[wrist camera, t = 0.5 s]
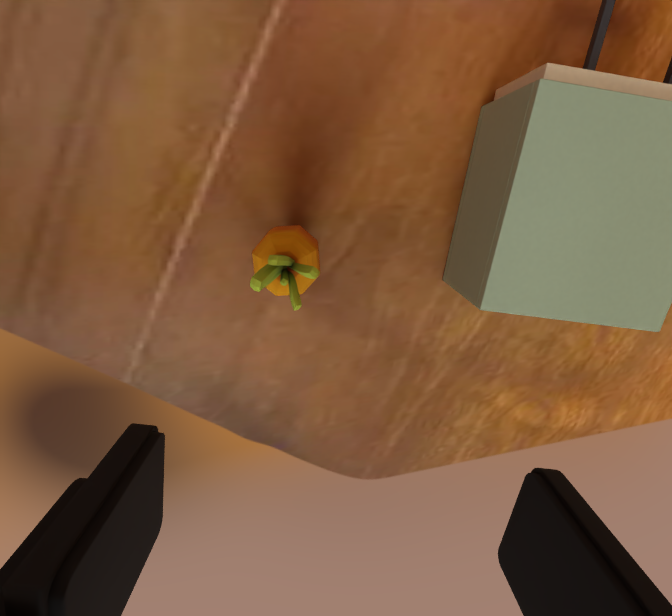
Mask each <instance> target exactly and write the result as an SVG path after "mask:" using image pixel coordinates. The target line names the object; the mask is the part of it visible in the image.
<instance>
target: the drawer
mask: <svg viewBox="0 0 672 616" xmlns="http://www.w3.org/2000/svg"><path fill="white" fill-rule="evenodd" d="M615 1H616V0H602V3H601V7H600V10H599V14H598V17H597V21H596V24H595V28H594V31H593V35H592V38H591V42H590V45H589V48H588V52H587V55H586V59H585V62H584V66H583V69H581V68H576V67H570V66H564V65H559V64H553V63H546V64H544V65H542V66H540V67H538V68H536V69H535V70H533V71H531V72H529V73H527V74H525V75H523V76H521V77H520V78H518V79H516V80H514V81H512V82H510V83H508V84H506V85H505V86H503V87H501V88H499V89H497V90H496V93H495V98H494V100H497V99H499V98H501V97H503V96H505V95H507V94H509V93H511V92H513V91H515V90H517V89H520V88H522V87H524V86H526V85H528V84H530V83H532V82H535V81H536V80H538V79H541V78H542V79H548V80H554V81H560V82H565V83H571V84H577V85H583V86H589V87H594V88H600V89H606V90H612V91H617V92H623V93H629V94H635V95H641V96H646V97H652V98H658V99H664V100H669V101H672V58H671V61H670V64H669V67H668V69H667V72H666V75H665V78H664V81H663V83H661V82H655V81H649V80H644V79H638V78H632V77H627V76H621V75H615V74H610V73H604V72H598V71H595V68H596V65H597V61H598V58H599V55H600V51H601V48H602V44H603V41H604V38H605V34H606V31H607V28H608V24H609V21H610V18H611V14H612V11H613V7H614V4H615Z"/></svg>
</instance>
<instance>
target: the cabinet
mask: <svg viewBox="0 0 672 616" xmlns="http://www.w3.org/2000/svg"><path fill="white" fill-rule="evenodd" d="M443 281H445V282H446V283H447V284H448V285H450V286H451V287H452V288H453V289H455V290H456V291H457V292H458V293H460V294H461V295H462V296H463V297H465V298H466V299H467V300H468V301H470V302H471V303H472V304H473V305H475V306H476V307H477V308H479V309H480V310H485V311H493V312H501V313H509V314H517V315H525V316H534V317H542V318H550V319H558V320H566V321H574V322H582V323H590V324H598V325H606V326H614V327H622V328H630V329H638V330H646V331H654V332H659V331H660V329H661V327H662V324H663V322H664V319H665V317H666V315H667V312H668V310H669V307H670V305H671V303H672V101H669V100H664V99H658V98H652V97H646V96H641V95H635V94H629V93H623V92H617V91H612V90H606V89H600V88H594V87H589V86H583V85H577V84H571V83H565V82H560V81H554V80H548V79H542V78H541V79H538V80H536V81H535V82H532V83H530V84H528V85H526V86H524V87H522V88H520V89H517V90H515V91H513V92H511V93H509V94H507V95H505V96H503V97H501V98H499V99H497V100H494V101H492V102H490V103H488V104H486V105H484V106H482V107H481V111H480V116H479V120H478V125H477V129H476V134H475V138H474V142H473V147H472V151H471V156H470V160H469V165H468V169H467V173H466V178H465V182H464V187H463V191H462V195H461V200H460V204H459V209H458V213H457V218H456V222H455V226H454V231H453V235H452V240H451V244H450V249H449V253H448V257H447V262H446V266H445V271H444V275H443Z"/></svg>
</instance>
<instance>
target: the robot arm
mask: <svg viewBox="0 0 672 616" xmlns="http://www.w3.org/2000/svg"><path fill="white" fill-rule="evenodd" d="M164 445H165V435H164V433H159V432H158V428H157V427H156V426H152V425H143V424H131V425H130V426H129V427H128V428H127V429H126V430H125V432H124V433H123V434H122V435H121V437H120V438H119V439H118V440H117V442H116V443H115V444H114V445H113V447H112V448H111V449H110V451H109V452H108V453H107V455H106V456H105V457H104V458H103V459H102V461H101V462H100V463H99V465H98V466H97V467H96V469H95V470H94V471H93V472H92V474H91V475H90V476H89V477H88V478H87V479H86V478H79V479H77V480H75V481H74V482H73V483H72V484H71V485H70V486H69V487H68V488H67V490H66V491H65V492H64V493H63V494H62V496H61V497H60V498H59V499H58V501H57V502H56V503H55V504H54V505H53V506H52V508H51V509H50V510H49V511H48V513H47V514H46V515H45V516H44V518H43V519H42V520H41V521H40V522H39V523H38V525H37V526H36V527H35V528H34V530H33V531H32V532H31V533H30V534H29V535H28V537H27V538H26V539H25V540H24V541H23V543H22V544H21V545H20V546H19V548H18V549H17V550H16V551H15V552H14V554H13V555H12V556H11V557H10V559H9V560H8V561H7V562H6V563H5V564H4V566H3V567H2V568H1V569H0V616H121V614H122V612H123V610H124V608H125V606H126V604H127V601H128V599H129V597H130V595H131V593H132V591H133V588H134V586H135V584H136V582H137V580H138V578H139V575H140V573H141V571H142V569H143V567H144V565H145V562H146V560H147V558H148V556H149V554H150V552H151V549H152V547H153V545H154V543H155V541H156V539H157V536H158V534H159V531H160V528H161V524H162V517H163V483H164V448H165V446H164ZM498 558H499V563H500V566H501V568H502V570H503V572H504V575H505V577H506V579H507V581H508V583H509V585H510V587H511V589H512V592H513V594H514V596H515V598H516V600H517V602H518V605H519V606H520V609H521V611H522V613H523V615H524V616H672V605H671V604H670V603H669V602H668V600H667V599H666V598H665V597H664V596H663V594H662V593H661V592H660V591H659V589H658V588H657V587H656V586H655V585H654V583H653V582H652V581H651V580H650V579H649V577H648V576H647V575H646V574H645V572H644V571H643V570H642V569H641V568H640V567H639V565H638V564H637V563H636V562H635V560H634V559H633V558H632V557H631V556H630V554H629V553H628V552H627V551H626V550H625V548H624V547H623V546H622V545H621V543H620V542H619V541H618V540H617V539H616V537H615V536H614V535H613V534H612V533H611V531H610V530H609V529H608V528H607V527H606V525H605V524H604V523H603V522H602V521H601V519H600V518H599V517H598V516H597V515H596V513H595V512H594V511H593V510H592V508H591V507H590V506H589V505H588V504H587V502H586V501H585V500H584V499H583V498H582V496H581V495H580V494H579V493H578V492H577V490H576V489H575V488H574V487H573V485H572V484H571V483H570V482H569V481H568V480H567V478H566V477H565V476H564V475H563V474H562V473H561V472H560V471H558V470H553V469H543V468H535V469H533V470H532V472H531V473H528V474H527V475H526V476H525V479H524V482H523V484H522V487H521V490H520V492H519V495H518V498H517V500H516V503H515V506H514V508H513V511H512V514H511V517H510V519H509V522H508V525H507V528H506V530H505V533H504V535H503V538H502V541H501V544H500V546H499V550H498Z"/></svg>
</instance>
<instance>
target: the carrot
mask: <svg viewBox="0 0 672 616" xmlns="http://www.w3.org/2000/svg"><path fill="white" fill-rule="evenodd" d="M252 257H253V265H254V273H255V275H254V276H253V277H252V279H251V281H250V287H251V288H252V289H253V290H255V291H259V292H260V291H261V290H262V289H263V288H265V287H266V288H267V289H268V290H269V291H271V292H272V293H273V294H274V295H276V296H281V295H290V300H291V304H292V307H293V310H298V309H299V308H300V307H301V305H302V304H301V299H300V296H299V294H303V293H304V292H305V291H306V289H307V288H308V287H309V286H310V285H311V284H312V283H313V282H314V280H315V279H316V278H317V277H318V276H319V275H320V264H319V250H318V242H317V240H316V239H315V238H314V237H313V236H311V235H310V234H309V233H308V232H307V231H306V230H305V229H303V228H302V227H301V226H300V225H293V226H278V227H274V228H272V229H271V230H269V232H268V233H267V234H266V235H265V236H264V238H263V239H262V240H261V241H260V243H259V244H258V245H257V246H256V247H255V249H254V250H253V251H252Z"/></svg>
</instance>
